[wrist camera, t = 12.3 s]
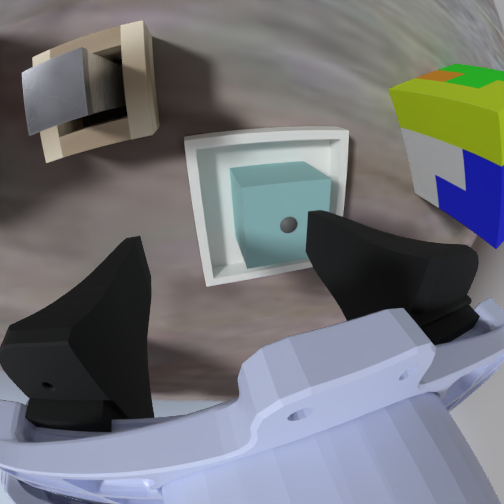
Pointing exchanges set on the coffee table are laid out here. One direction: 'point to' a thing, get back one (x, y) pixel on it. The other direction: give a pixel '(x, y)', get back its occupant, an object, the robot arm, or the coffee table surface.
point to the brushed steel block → (71, 89)
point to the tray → (245, 154)
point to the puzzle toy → (457, 143)
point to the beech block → (135, 84)
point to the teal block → (275, 209)
